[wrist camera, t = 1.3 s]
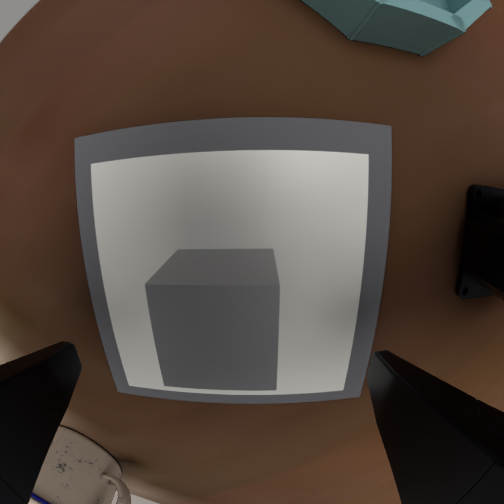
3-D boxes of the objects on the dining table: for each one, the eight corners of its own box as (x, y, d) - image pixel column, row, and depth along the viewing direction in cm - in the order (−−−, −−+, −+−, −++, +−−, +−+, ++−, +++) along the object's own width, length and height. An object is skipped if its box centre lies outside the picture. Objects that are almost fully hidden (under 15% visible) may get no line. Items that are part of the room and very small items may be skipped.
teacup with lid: (79, 473, 21) (46, 545, 10) (29, 417, 19) (-23, 493, 7) (167, 484, 20) (144, 583, 9) (114, 425, 17) (60, 545, 6)
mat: (386, 127, 12) (391, 126, 11) (357, 391, 16) (359, 396, 15) (79, 138, 12) (74, 138, 12) (120, 387, 16) (118, 392, 16)
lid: (362, 155, 12) (415, 149, 7) (340, 381, 15) (361, 444, 10) (99, 163, 12) (33, 166, 7) (133, 377, 15) (103, 434, 11)
